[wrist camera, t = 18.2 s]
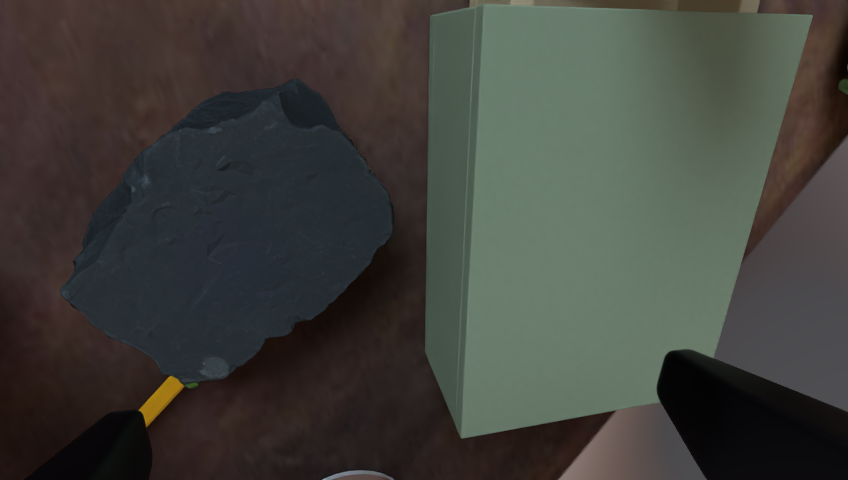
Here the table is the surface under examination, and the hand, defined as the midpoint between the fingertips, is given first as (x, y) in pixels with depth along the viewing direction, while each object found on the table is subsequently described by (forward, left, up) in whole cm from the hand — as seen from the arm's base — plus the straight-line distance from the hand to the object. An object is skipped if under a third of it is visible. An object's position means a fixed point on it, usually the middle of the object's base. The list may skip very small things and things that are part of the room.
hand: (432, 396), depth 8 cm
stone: (-5, -1, -13) cm, 14 cm away
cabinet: (+9, -1, -13) cm, 16 cm away
